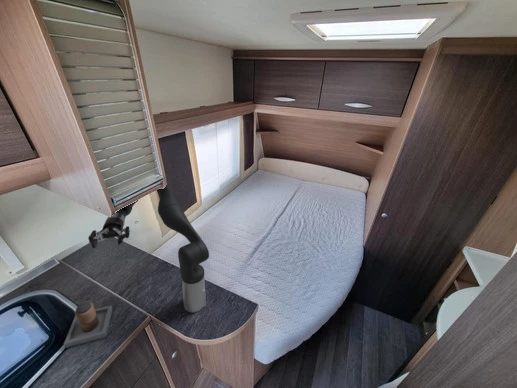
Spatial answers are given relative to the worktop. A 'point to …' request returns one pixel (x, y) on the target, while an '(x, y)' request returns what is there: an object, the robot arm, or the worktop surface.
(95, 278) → the worktop surface
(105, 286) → the worktop surface
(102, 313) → the grey square tray
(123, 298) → the worktop surface
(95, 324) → the wooden cylinder
